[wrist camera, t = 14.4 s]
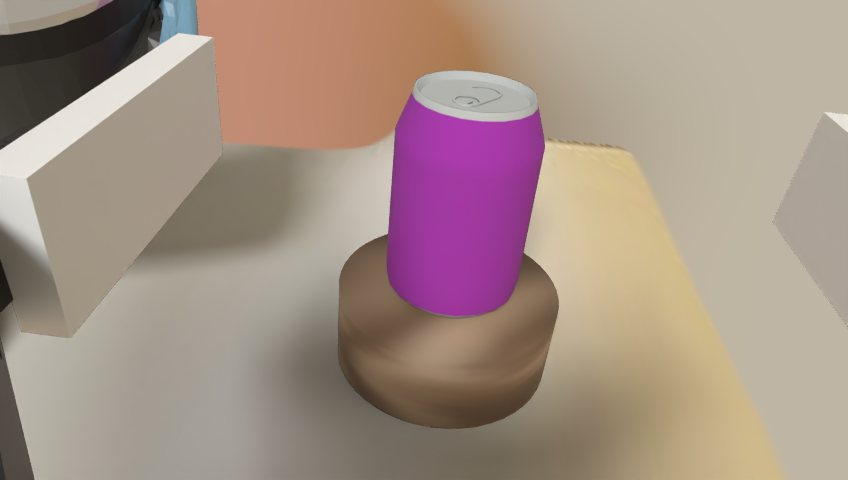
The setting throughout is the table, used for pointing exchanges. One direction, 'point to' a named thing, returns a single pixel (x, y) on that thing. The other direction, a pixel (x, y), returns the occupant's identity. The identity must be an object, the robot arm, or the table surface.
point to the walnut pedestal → (441, 347)
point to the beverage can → (462, 191)
